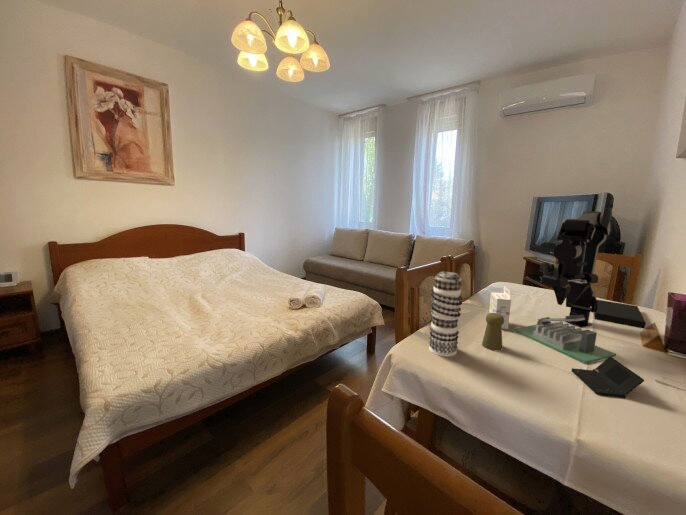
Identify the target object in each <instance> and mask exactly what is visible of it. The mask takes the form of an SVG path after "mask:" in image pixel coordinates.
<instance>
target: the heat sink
mask: <svg viewBox="0 0 686 515" xmlns="http://www.w3.org/2000/svg"><path fill="white" fill-rule="evenodd" d="M535 325H536V330H535V331H534V333H533V336H534V337H536V338H538V339H540V340H543V341H545V342H547V343H549V344H551V345H554V346H556V347H558V348H560V349H562V350H564V349H568V348H573V347H578V346H580V349H579V351H580V352H583V353H589V352H594V347H595V345H596V339H597V334H598V332H595V331H594V330H591V329H582V327H577V328H576V325H570V323H564V321H553V322H552V321H537V323H536V324H535Z"/></svg>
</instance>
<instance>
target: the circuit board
mask: <svg viewBox="0 0 686 515" xmlns="http://www.w3.org/2000/svg"><path fill="white" fill-rule="evenodd" d="M536 325H537V324H533V325H526V326H519V327H514V328H513V329H512V331H513V332H515V331H516V332H515V333H517V332H518V334H519V333H520V334H519V335H522V336H524V337H526V338H528V339H530V340H532V341H535V342H536V343H539V344H541V345H542V346H545V347H548V348H550V349H552V350H554V351H556V352H558V353H559V354H560V353H561V354H563V355H565V356H567V357H568V358H571V359H573V360H575V361H578V362H580V363H582V364H584V365H586V364H590V363H594V362H599V361H602V360H606V359H608V358H609V357H612V358H615V357H617V353H616V352H612V351H611V350H608V349H605V348H603V347H600V346H598V345H596V344H595V347H594V352H589V353H583V352H580V351H579V349H580V346H578V347H573V348H568V349H564V350H562V349H560V348H558V347H556V346H554V345H551V344H549V343H547V342H545V341H543V340H540V339H538V338H536V337H534V336H533V333H534V331H535V330H536Z"/></svg>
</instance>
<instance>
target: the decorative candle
mask: <svg viewBox="0 0 686 515" xmlns="http://www.w3.org/2000/svg"><path fill="white" fill-rule="evenodd" d="M433 278H434V283H433V284H434V285H433V288H432V289H431V293H430V296H431V300H430V302H431V304H430V308H431V310H430V313H431V317H432V318H431V324H430V327H429V330H430V332H429V337H428V339H429V341H428V344H429V345H428V349H429V351H430V353H432V354H435V355H437V356H440V357H445V358H446V357H448V358H449V357H454V356H456V355H457V353H458V348H459V347H458V344H459V341H458V339H459V334H460V332H459V324H458V322H459V319H460V317H461V315H462V314H461V313H460V312H461V310H462V308H461V307H459V306H462V304H463V302H462V300H463V296H462V294H461V293H462V289H461V288H462V287H461V285H462V281H463V278H462V277H460V275H459V274H458V273H456V272H453V271H440V272H438V273H437V274H436V275H435V276H434V277H433Z"/></svg>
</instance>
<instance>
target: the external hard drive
mask: <svg viewBox="0 0 686 515" xmlns="http://www.w3.org/2000/svg"><path fill="white" fill-rule="evenodd" d="M596 300H597V301H598V308H597V312H593V316H594V320H597V321H602V322H606V323H607V322H608V323H612V324H619V325H622V326H628V327H633V328H634V327H635V328H638V329H639V328H640V329H646V321H645V319H644V316H643V315H642V313H641V310H640V309H639V307H638V305H632V304H626V303H621V302H613V301H608V300H601V299H596Z"/></svg>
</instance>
